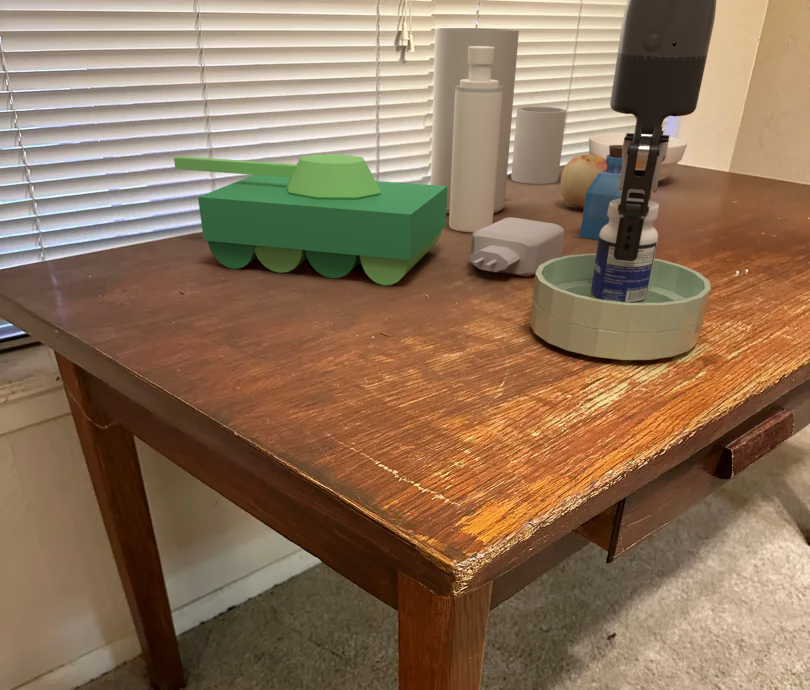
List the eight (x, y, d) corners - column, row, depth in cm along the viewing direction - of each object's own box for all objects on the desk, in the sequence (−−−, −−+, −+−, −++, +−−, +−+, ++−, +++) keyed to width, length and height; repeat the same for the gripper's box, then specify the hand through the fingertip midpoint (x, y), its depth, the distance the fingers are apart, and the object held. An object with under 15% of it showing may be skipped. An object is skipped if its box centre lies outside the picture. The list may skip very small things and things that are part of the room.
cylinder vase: (432, 199, 133) (437, 27, 118) (503, 201, 132) (517, 28, 117) (427, 215, 123) (432, 30, 108) (504, 218, 122) (520, 31, 107)
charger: (446, 278, 95) (499, 251, 106) (512, 291, 91) (560, 262, 102) (448, 239, 92) (502, 215, 103) (516, 250, 89) (565, 225, 99)
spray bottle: (451, 221, 120) (460, 31, 105) (493, 223, 119) (508, 32, 104) (446, 231, 114) (455, 33, 100) (490, 233, 114) (505, 34, 99)
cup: (521, 184, 144) (528, 113, 137) (504, 175, 151) (510, 107, 144) (565, 183, 146) (574, 112, 139) (546, 174, 153) (554, 106, 146)
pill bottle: (592, 294, 81) (608, 194, 75) (647, 300, 80) (667, 199, 74) (584, 310, 77) (600, 206, 71) (642, 317, 75) (663, 211, 70)
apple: (583, 200, 133) (591, 150, 129) (621, 210, 127) (630, 158, 123) (546, 206, 129) (552, 154, 125) (583, 216, 123) (591, 162, 119)
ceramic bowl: (716, 327, 82) (730, 271, 79) (665, 380, 70) (679, 317, 67) (569, 297, 90) (576, 245, 86) (501, 340, 78) (507, 282, 75)
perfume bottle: (620, 243, 110) (636, 151, 103) (579, 237, 113) (592, 147, 106) (632, 234, 115) (648, 145, 108) (593, 228, 117) (606, 142, 110)
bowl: (627, 169, 158) (633, 130, 154) (698, 184, 146) (708, 142, 142) (564, 178, 150) (569, 137, 146) (634, 194, 138) (642, 150, 134)
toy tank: (206, 139, 106) (448, 154, 98) (217, 231, 113) (444, 252, 105) (135, 159, 92) (411, 178, 84) (153, 262, 99) (409, 289, 91)
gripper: (710, 55, 59) (664, 275, 69) (706, 47, 70) (667, 237, 80) (612, 52, 61) (580, 267, 70) (623, 44, 72) (595, 231, 82)
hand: (626, 250), depth 75 cm, fingers closed on pill bottle, 5 cm apart
